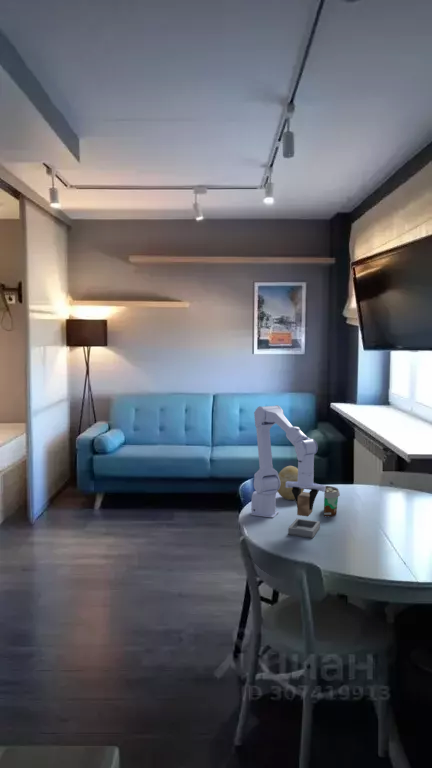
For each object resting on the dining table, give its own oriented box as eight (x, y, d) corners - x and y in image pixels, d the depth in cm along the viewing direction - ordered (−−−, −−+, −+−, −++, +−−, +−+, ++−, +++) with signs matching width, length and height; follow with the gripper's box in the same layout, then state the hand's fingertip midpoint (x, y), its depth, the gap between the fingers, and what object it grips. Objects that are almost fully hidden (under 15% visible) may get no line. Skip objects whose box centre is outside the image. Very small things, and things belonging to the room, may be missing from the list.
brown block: (297, 515, 209) (297, 496, 208) (301, 510, 215) (302, 491, 215) (308, 516, 207) (308, 497, 207) (312, 511, 213) (312, 492, 213)
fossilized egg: (309, 499, 254) (310, 465, 253) (294, 505, 244) (295, 470, 243) (285, 493, 262) (286, 461, 261) (269, 499, 253) (270, 466, 251)
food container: (339, 518, 227) (340, 493, 226) (323, 517, 228) (324, 492, 227) (339, 509, 239) (339, 486, 238) (324, 508, 240) (324, 485, 239)
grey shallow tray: (288, 534, 208) (288, 528, 207) (296, 524, 219) (296, 518, 218) (312, 538, 204) (312, 531, 204) (319, 528, 215) (320, 521, 215)
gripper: (283, 472, 209) (282, 508, 210) (323, 476, 203) (322, 513, 204) (288, 468, 215) (287, 503, 216) (327, 472, 210) (326, 508, 211)
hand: (304, 508), depth 211 cm, fingers closed on brown block, 4 cm apart
